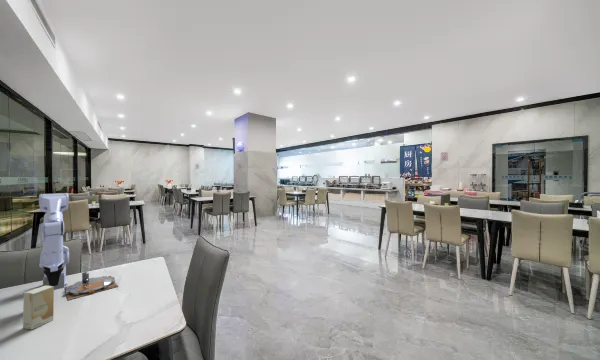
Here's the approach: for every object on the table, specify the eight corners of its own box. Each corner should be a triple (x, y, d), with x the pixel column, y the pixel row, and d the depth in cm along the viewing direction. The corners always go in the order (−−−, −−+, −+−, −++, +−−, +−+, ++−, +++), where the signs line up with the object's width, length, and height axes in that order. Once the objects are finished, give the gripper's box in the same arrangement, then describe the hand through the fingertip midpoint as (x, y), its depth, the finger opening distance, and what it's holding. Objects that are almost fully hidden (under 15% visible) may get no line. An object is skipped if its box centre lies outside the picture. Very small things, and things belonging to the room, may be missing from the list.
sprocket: (53, 295, 103) (53, 282, 103) (88, 278, 121) (88, 267, 121) (95, 294, 104) (95, 282, 104) (123, 277, 122) (123, 266, 121)
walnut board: (65, 287, 112) (65, 286, 112) (110, 276, 125) (110, 275, 125) (67, 300, 100) (67, 299, 100) (118, 286, 113) (118, 286, 113)
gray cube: (43, 289, 97) (42, 277, 97) (63, 284, 102) (63, 272, 102) (43, 292, 95) (42, 279, 95) (64, 287, 99) (64, 275, 99)
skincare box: (31, 330, 80) (31, 294, 80) (22, 328, 81) (21, 293, 81) (55, 319, 87) (54, 285, 87) (45, 317, 88) (45, 284, 87)
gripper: (39, 249, 100) (39, 282, 100) (38, 257, 90) (39, 293, 90) (62, 246, 105) (63, 276, 105) (64, 253, 95) (65, 287, 95)
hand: (53, 284), depth 98 cm, fingers closed on gray cube, 4 cm apart
